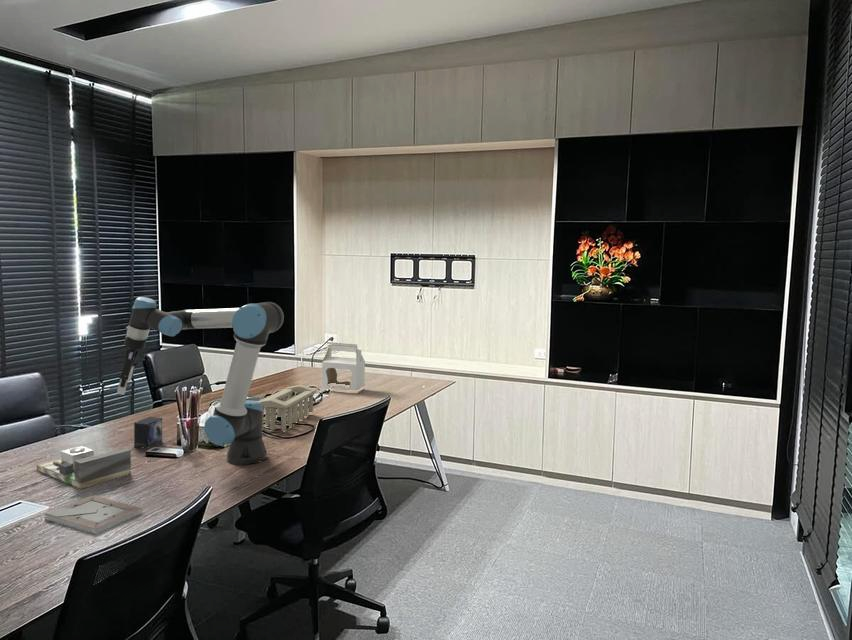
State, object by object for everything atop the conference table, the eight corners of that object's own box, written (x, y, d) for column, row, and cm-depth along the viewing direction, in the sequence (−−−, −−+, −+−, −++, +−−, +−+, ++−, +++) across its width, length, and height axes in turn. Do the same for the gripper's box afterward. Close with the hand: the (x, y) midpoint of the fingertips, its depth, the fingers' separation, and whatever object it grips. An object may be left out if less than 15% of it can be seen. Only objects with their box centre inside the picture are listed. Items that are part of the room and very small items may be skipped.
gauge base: (131, 474, 229) (130, 450, 228) (80, 489, 213) (79, 463, 212) (86, 457, 245) (85, 434, 244) (35, 470, 230) (34, 446, 229)
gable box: (321, 391, 369) (321, 343, 366) (330, 386, 382) (330, 340, 379) (356, 394, 364) (357, 346, 361) (364, 389, 376) (365, 343, 373)
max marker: (72, 473, 221) (72, 465, 221) (65, 475, 219) (65, 466, 219) (66, 470, 224) (66, 462, 223) (59, 472, 222) (59, 464, 221)
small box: (147, 449, 257) (147, 424, 256) (133, 447, 258) (132, 422, 257) (163, 441, 267) (163, 417, 266) (149, 440, 269) (149, 416, 267)
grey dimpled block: (93, 463, 232) (93, 449, 232) (57, 473, 222) (57, 458, 221) (82, 458, 237) (81, 444, 236) (46, 468, 226) (45, 453, 225)
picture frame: (45, 521, 190) (95, 536, 182) (44, 513, 190) (95, 527, 181) (93, 501, 205) (142, 515, 197) (93, 494, 205) (142, 507, 196)
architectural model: (285, 434, 284) (285, 401, 282) (254, 430, 287) (254, 398, 286) (316, 414, 318) (316, 385, 316) (287, 412, 321) (287, 383, 320)
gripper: (131, 325, 252) (119, 373, 256) (120, 344, 229) (106, 397, 233) (151, 329, 255) (138, 377, 259) (142, 349, 232) (128, 401, 236)
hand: (123, 387), depth 246 cm, fingers open, 13 cm apart
